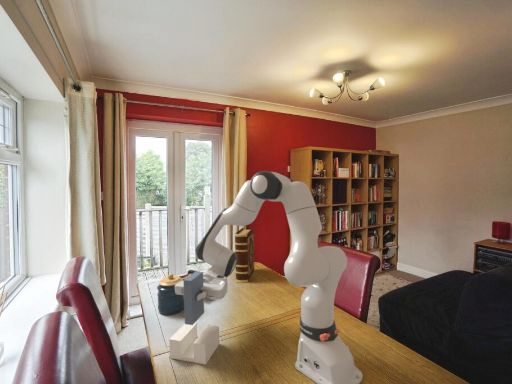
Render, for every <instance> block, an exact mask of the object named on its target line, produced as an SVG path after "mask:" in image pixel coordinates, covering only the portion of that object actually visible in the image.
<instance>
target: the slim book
mask: <svg viewBox="0 0 512 384" xmlns="http://www.w3.org/2000/svg"><path fill="white" fill-rule="evenodd" d="M195 271H196V272H194V273H193V274H191V275H190V276H189V277H187V278H186V279H184V280H183V282H184V309H183V310H184V311H183V312H184V324H188V325H193V324H194V323H196V322H197V321H198V320H199V319H200V317H202V315H203V314H205V300H204V299H205V298H202V299H200V300H199V301H197V300H195V295H196V294H200V293H202V290H201V287H202V286H203V272H204V271H199V272H197V271H198V270H195Z"/></svg>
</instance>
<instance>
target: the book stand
mask: <svg viewBox="0 0 512 384" xmlns="http://www.w3.org/2000/svg"><path fill="white" fill-rule="evenodd" d="M197 323H198V322H197ZM197 323H196V322H195V323H194V324H193V325H188V324H185V323H184V324H183V325H182V326H181V327H180V328H179V329H178V330H177V331H175V333H174V334H173V335H172V336H171V337H170V338H169V359H174V360H179V361H184V362H189V363H194V364H200V365H205V366H206V365H207V363H208V362H209V361H210V359H211V357H212V356H213V354H214V353H215V351H217V349H218V347H219V346H220V343H221V342H220V326H219V325H214V324H213V325H212V324H208V325H207V326H206V327H205V328H204V330H202V332H201V333H200V335H198V324H197Z"/></svg>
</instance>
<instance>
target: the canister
mask: <svg viewBox="0 0 512 384" xmlns="http://www.w3.org/2000/svg"><path fill="white" fill-rule="evenodd" d="M179 276H180V275H174V274H173V273H169V274H168V275H167V276H165V277H163V278H161V279H160V280H159V281H158V285H157V287H156V290H157V291H158V292H157V294H156V295H157V310H158V313H159V314H160V315H165V316H170V315H172V316H173V315H175V314H178V313H181V312H183V310H184V295H178V294H176V293H175V285H176V284H177V283H179V282H181V281H183V279H182V278H181V277H179Z"/></svg>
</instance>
